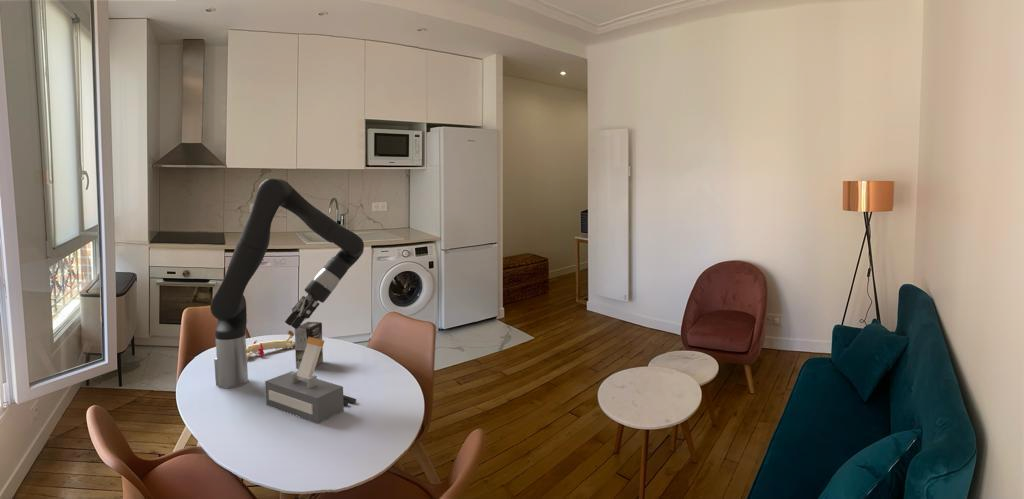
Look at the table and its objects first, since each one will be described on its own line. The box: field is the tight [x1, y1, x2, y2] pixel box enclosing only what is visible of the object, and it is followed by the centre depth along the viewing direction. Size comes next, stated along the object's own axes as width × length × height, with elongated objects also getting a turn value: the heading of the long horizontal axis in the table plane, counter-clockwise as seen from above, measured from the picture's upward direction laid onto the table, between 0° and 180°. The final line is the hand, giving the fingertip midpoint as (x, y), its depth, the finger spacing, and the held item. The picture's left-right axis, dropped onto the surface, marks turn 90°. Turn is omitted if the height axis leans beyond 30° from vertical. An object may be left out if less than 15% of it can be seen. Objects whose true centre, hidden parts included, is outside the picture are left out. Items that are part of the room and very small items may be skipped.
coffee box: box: [294, 321, 324, 369], centre depth 201 cm, size 9×6×16 cm
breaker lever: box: [295, 337, 325, 383], centre depth 165 cm, size 2×6×14 cm, turn 62°
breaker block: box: [264, 370, 357, 424], centre depth 167 cm, size 17×24×11 cm
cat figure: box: [246, 329, 295, 360], centre depth 213 cm, size 10×9×25 cm
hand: (290, 325), depth 168 cm, fingers open, 8 cm apart
